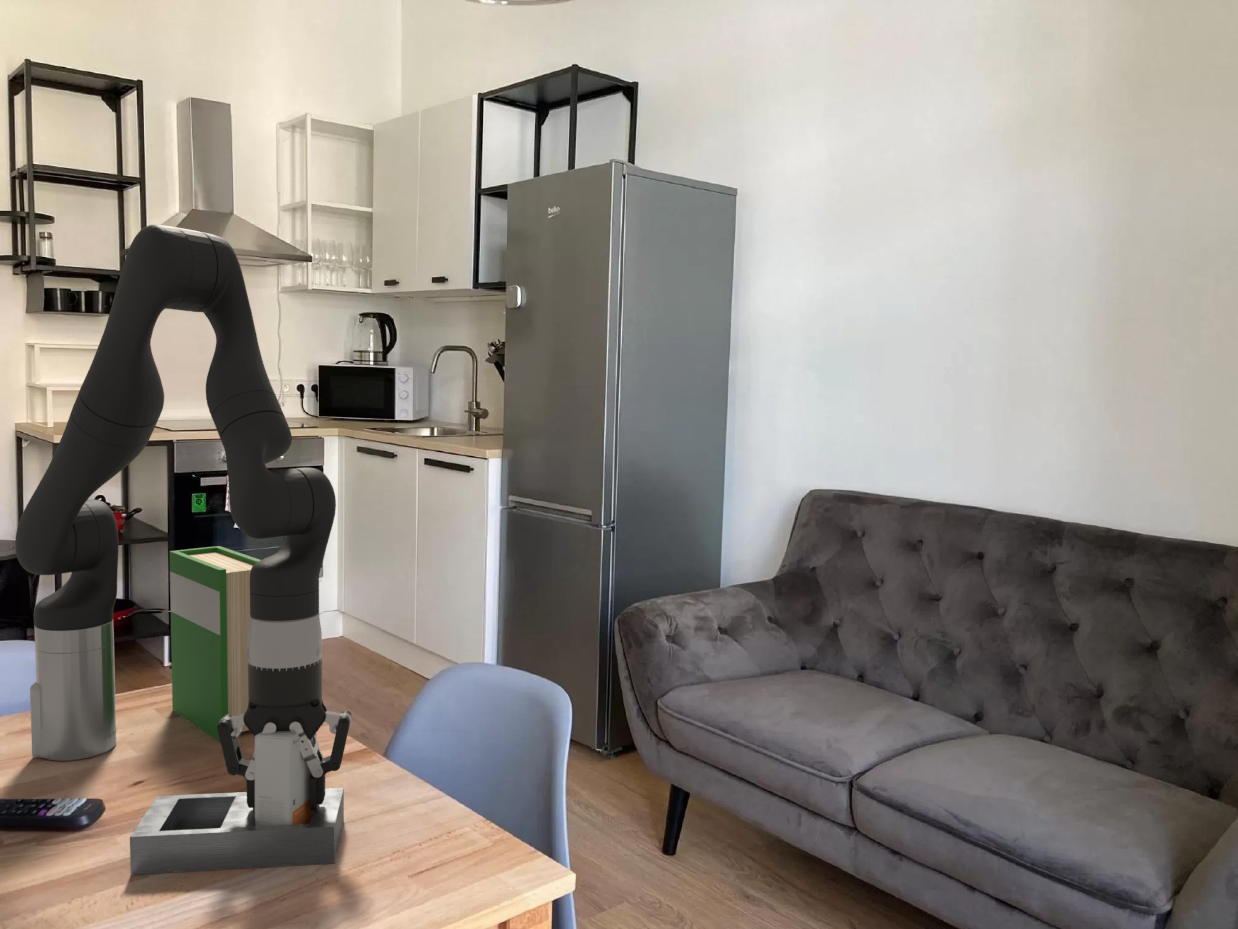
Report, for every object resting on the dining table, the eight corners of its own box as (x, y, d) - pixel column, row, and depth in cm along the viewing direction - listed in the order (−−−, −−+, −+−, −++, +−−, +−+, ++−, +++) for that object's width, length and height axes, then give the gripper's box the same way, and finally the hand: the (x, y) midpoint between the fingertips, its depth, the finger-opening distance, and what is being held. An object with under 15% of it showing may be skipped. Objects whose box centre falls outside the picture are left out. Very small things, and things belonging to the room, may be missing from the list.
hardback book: (273, 730, 146) (271, 563, 143) (221, 743, 141) (219, 570, 138) (221, 700, 158) (219, 546, 156) (172, 710, 153) (169, 551, 151)
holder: (130, 875, 104) (129, 837, 104) (157, 830, 114) (157, 796, 114) (334, 863, 107) (334, 826, 107) (343, 821, 117) (343, 788, 117)
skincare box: (290, 849, 108) (289, 739, 107) (253, 845, 109) (252, 735, 108) (318, 825, 114) (317, 719, 113) (283, 820, 115) (282, 716, 114)
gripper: (357, 644, 114) (357, 791, 116) (222, 647, 112) (224, 797, 114) (351, 664, 107) (351, 820, 109) (206, 667, 105) (208, 827, 106)
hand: (286, 808), depth 111 cm, fingers closed on skincare box, 5 cm apart
